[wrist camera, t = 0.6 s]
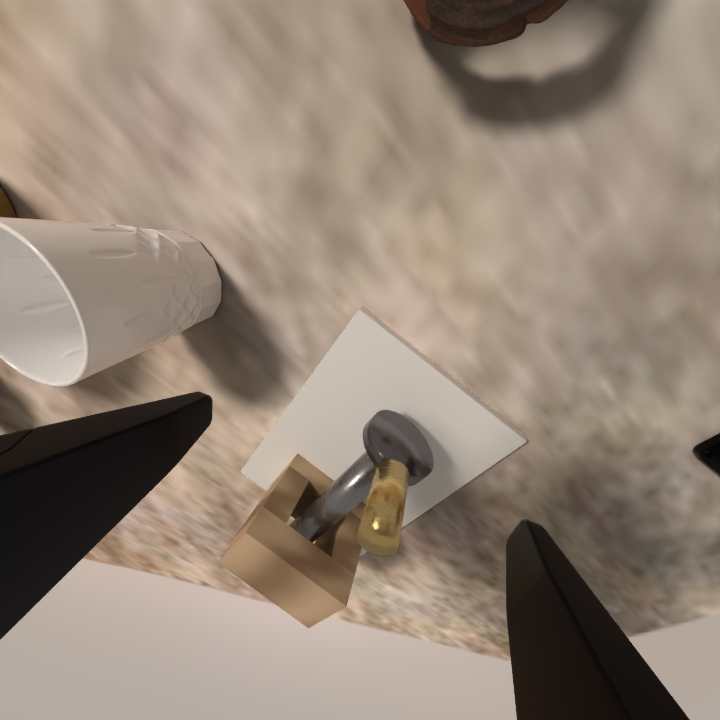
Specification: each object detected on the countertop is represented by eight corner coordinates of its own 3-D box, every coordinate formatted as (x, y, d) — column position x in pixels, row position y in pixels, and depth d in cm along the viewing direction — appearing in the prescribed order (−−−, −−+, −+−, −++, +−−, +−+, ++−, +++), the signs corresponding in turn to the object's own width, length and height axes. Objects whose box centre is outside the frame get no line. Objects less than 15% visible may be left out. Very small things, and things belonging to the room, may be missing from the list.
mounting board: (524, 434, 20) (527, 441, 20) (359, 550, 30) (357, 558, 29) (362, 306, 20) (359, 309, 19) (245, 465, 29) (240, 471, 28)
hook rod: (438, 436, 20) (434, 565, 12) (310, 544, 28) (259, 662, 20) (384, 394, 20) (345, 498, 12) (270, 514, 28) (204, 623, 20)
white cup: (179, 341, 25) (34, 403, 16) (121, 250, 23) (-82, 263, 14) (249, 307, 22) (118, 360, 13) (189, 199, 20) (-13, 176, 11)
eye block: (371, 509, 26) (346, 606, 19) (340, 533, 28) (308, 628, 22) (297, 453, 26) (245, 532, 19) (272, 482, 28) (218, 562, 21)
